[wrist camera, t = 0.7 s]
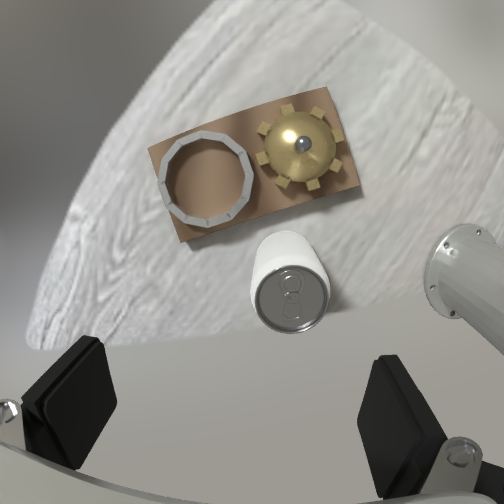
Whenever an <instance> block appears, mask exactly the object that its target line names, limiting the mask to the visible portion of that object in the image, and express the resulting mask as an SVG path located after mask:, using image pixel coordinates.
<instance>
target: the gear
mask: <svg viewBox="0 0 504 504" xmlns="http://www.w3.org/2000/svg"><path fill="white" fill-rule="evenodd" d="M280 112H281V115H282V116H281V117H280V118H278V119H277V120H276V121H275V122H274V123H273V124H272V125H270V124H268V123H266V122H264V121H262V123H261V125H260V127H259V129H258V130H257V133H258V134H260V135H262V136H264V137H265V143H264V149H265V151H264V152H260V153H257V154H256V157H257V160H258V163H259V166H262V165H265V164H268V163H269V164H270V166H271V167H272V169H273V170H274V171H275V172H276V173H277V174H279V175H278V177H277V179H276V181H275V184H277V185H279V186H281V187H283V188H285V189H286V188H287V186H288V184H289V182H290V180H291V181H296V182H305V185H306V188H307V190H308V191H310V190H314V189H317V188H320V184H319V181H318V178H319V177H320V176H322V175H323V174H324V173H325V172H326V171H327V170H330V171H332V172H333V173H338V171H339V169H340V167H341V165H342V163H343V162H341V161H339V160H337V159H336V158H335V154H336V143H338V142H342V141H344V138H343V135H342V132H341V129H338V130H334V131H331V129H330V128H329V126H328V125H327V124H326V123H325V122H324V121H323V120H321V119H322V117H323V115H324V113H325V112H326V111H324V110H322V109H320V108H318V107H316V106H314V107H313V109H312V111H311V113H306V112H295V111H294V108H293V106H292V103H291V104H287V105H284V106H281V107H280Z"/></svg>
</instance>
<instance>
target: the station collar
mask: <svg viewBox="0 0 504 504" xmlns="http://www.w3.org/2000/svg"><path fill="white" fill-rule="evenodd" d="M203 139H204V140H211V141H217V142H223V143H225V144H226V145H227V146H228V147H229V148H231V149H232V150H233V151H234V152H235V153H236V154H238V155H239V158H240V161H241V164H242V167H243V170H244V173H245V180H244V185H243V190H242V195H241V198H240V199H239V200H238V201H237V202H236V203H235V204H234V206H233V207H232V208H231V209H230V210H229V211H228V212H226V213H223V214H220V215H217V216H214V217H211V218H206V217H201V216H196V215H191V214H189V213H188V212H187V211H185V210H184V209H183V208H182V207H181V206H180V205H179V204H177V203H176V202H175V200H174V197H173V194H172V192H171V189H170V186H169V183H168V181H169V176H170V170H171V164H172V162H173V160H174V159H175V158H176V157H177V156H178V154H179V153H180V152H181V151H182V149H183V148H184V147H185V146H188V145H190V144H193V143H196V142H198V141H201V140H203ZM253 180H254V172H253V169H252V166H251V163H250V160H249V158H248V155H247V152H246V151H245V150H244V149H243V148H242V147H241V146H240V145H238V144H237V143H236V142H235V141H234V140H232V139H231V138H230V137H229V136H228V135H226V134H223V133H216V132H210V131H203V130H200V131H197V132H195V133H192V134H190V135H187V136H185V137H182V138H180V139H178V140H176V142H175V143H174V144H173V145H172V147H171V148H170V149H169V150H168V152H167V153H166V154H165V155H164V157H163V158H162V160H161V165H160V170H159V176H158V182H157V183H158V187H159V190H160V193H161V196H162V199H163V202H164V204H165V207H166V208H167V209H168V210H169V211H171V212H172V213H173V214H174V215H175V216H176V217H177V218H179V219H180V220H181V221H182V222H183V223H186V224H191V225H196V226H201V227H206V228H209V227H212V226H215V225H218V224H221V223H224V222H227V221H230V220H232V219H233V218H234V217H235V216H236V214H237V213H238V212H239V211H240V210H241V209H242V208H243V206H244V205H245V204H246V203H247V202H248V201H249V199H250V195H251V190H252V185H253Z"/></svg>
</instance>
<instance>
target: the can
mask: <svg viewBox="0 0 504 504" xmlns="http://www.w3.org/2000/svg"><path fill="white" fill-rule="evenodd" d="M329 298H330V283H329V279H328V276H327V274H326V272H325V270H324V268H323V266H322V264H321V262H320V261H319V259H318V257H317V255H316V254H315V252H314V250H313V248H312V247H311V245H310V244H309V242H308V241H307V240H306V239H305V238H304V237H303V236H301V235H299V234H297V233H295V232H292V231H281V232H276V233H274V234H271V235H269V236H268V237H267V238H265V239H264V240H263V242H262V243H261V244H260V246H259V248H258V250H257V253H256V258H255V263H254V269H253V275H252V281H251V301H252V304H253V307H254V309H255V311H256V312H257V314H258V316H259V318H260V319H261V320H262V322H263V323H264V324H265V325H267V326H268V327H269V328H271V329H273V330H275V331H277V332H281V333H286V334H294V333H301V332H304V331H306V330H309V329H310V328H312V327H314V326H315V325H316V324H317V323H318V322H319V321H320V320H321V319H322V318H323V316H324V315H325V313H326V310H327V308H328V304H329Z"/></svg>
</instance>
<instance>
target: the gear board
mask: <svg viewBox="0 0 504 504" xmlns="http://www.w3.org/2000/svg"><path fill="white" fill-rule="evenodd" d="M291 103H292V106H293V108H294V111H295V112H306V113H311V111H312V109H313V107H314V106H316V107H318V108H320V109H322V110H324V111H326V112H325V113H324V115H323V117H322V119H321V120H323V121H324V122H325V123H326V124H327V125H328V126H329V128H330V129H331V131H334V130H338V129H341V132H342V135H343V138H344V141H342V142H338V143H336V154H335V158H336V159H337V160H339V161H341V162H343V163H342V165H341V167H340V169H339V171H338V173H333V172H332V171H330V170H327V171H326V172H325V173H324V174H323V175H322V176H320V177H319V178H318V181H319V184H320V188H317V189H314V190H310V191H308V190H307V188H306V185H305V182H296V181H291V180H290V182H289V184H288V186H287V188H286V189H285V188H283V187H281V186H279V185H277V184H275V181H276V179H277V177H278V175H279V174H277V173H276V172H275V171H274V170H273V169H272V167H271V166H270V164H269V163H268V164H265V165H262V166H259V163H258V160H257V157H256V154H257V153H260V152H264V151H265V149H264V143H265V137H264V136H262V135H260V134H258V133H257V130H258V129H259V127H260V125H261V123H262V121H264V122H266V123H268V124H270V125H272V124H273V123H274V122H275V121H276V120H277V119H278V118H280V117H281V116H282V115H281V112H280V107H281V106H284V105H287V104H291ZM200 130H203V131H210V132H216V133H223V134H226V135H228V136H229V137H230V138H231V139H232V140H234V141H235V142H236V143H237V144H238V145H240V146H241V147H242V148H243V149H244V150H245V151H246V152H247V155H248V158H249V160H250V163H251V166H252V169H253V172H254V180H253V185H252V190H251V195H250V199H249V201H248V202H247V203H246V204H245V205H244V206H243V208H242V209H241V210H240V211H239V212H238V213H237V214H236V216H235V217H234V218H233V219H232V220H230V221H227V222H224V223H221V224H218V225H215V226H212V227H209V228H206V227H201V226H196V225H191V224H186V223H183V222H182V221H181V220H180V219H179V218H177V217H176V216H175V215H174V214H173V213H172V212H171V211H169V212H170V215H171V218H172V221H173V223H174V226H175V229H176V232H177V234H178V237H179V240H180V242H181V243H182V242H185V241H188V240H191V239H194V238H197V237H200V236H203V235H205V234H208V233H211V232H214V231H217V230H220V229H223V228H226V227H229V226H232V225H235V224H238V223H241V222H244V221H247V220H250V219H254V218H257V217H260V216H263V215H266V214H269V213H272V212H275V211H278V210H281V209H285V208H288V207H291V206H294V205H297V204H300V203H304V202H307V201H310V200H313V199H316V198H320V197H323V196H326V195H329V194H333V193H336V192H339V191H343V190H346V189H349V188H353V187H356V186H359V185H360V183H359V179H358V176H357V173H356V169H355V166H354V163H353V159H352V156H351V153H350V150H349V147H348V144H347V141H346V138H345V135H344V132H343V129H342V126H341V123H340V120H339V118H338V115H337V112H336V109H335V107H334V104H333V101H332V99H331V96H330V93H329V91H328V88H327V87H323V88H319V89H315V90H311V91H307V92H303V93H300V94H296V95H292V96H289V97H285V98H282V99H278V100H275V101H272V102H268V103H265V104H262V105H259V106H255V107H252V108H249V109H246V110H243V111H240V112H237V113H234V114H232V115H229V116H226V117H223V118H220V119H218V120H215V121H212V122H209V123H207V124H204V125H202V126H199V127H196V128H194V129H191V130H189V131H186V132H184V133H181V134H179V135H177V136H174V137H172V138H169V139H167V140H165V141H162V142H160V143H158V144H156V145H153V146H151V147H149V148H148V151H149V154H150V157H151V160H152V163H153V166H154V169H155V172H156V175H157V178H158V176H159V170H160V165H161V160H162V158H163V157H164V155H165V154H166V153H167V152H168V150H169V149H170V148H171V147H172V145H173V144H174V143H175V142H176V140H178V139H180V138H182V137H185V136H187V135H190V134H192V133H195V132H197V131H200ZM244 180H245V173H244V170H243V167H242V164H241V161H240V158H239V155H238V154H236V153H235V152H234V151H233V150H232V149H231V148H229V147H228V146H227V145H226V144H225V143H223V142H217V141H211V140H204V139H203V140H201V141H198V142H196V143H193V144H190V145H188V146H185V147H184V148H183V149H182V151H181V152H180V153H179V154H178V156H177V157H176V158H175V159H174V160H173V162H172V164H171V170H170V176H169V181H168V183H169V186H170V189H171V192H172V194H173V197H174V200H175V202H176V203H177V204H179V205H180V206H181V207H182V208H183V209H184V210H185V211H187V212H188V213H189V214H191V215H196V216H201V217H206V218H211V217H214V216H217V215H220V214H223V213H226V212H228V211H229V210H230V209H231V208H232V207H233V206H234V204H235V203H236V202H237V201H238V200H239V199H240V198H241V195H242V190H243V185H244Z"/></svg>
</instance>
